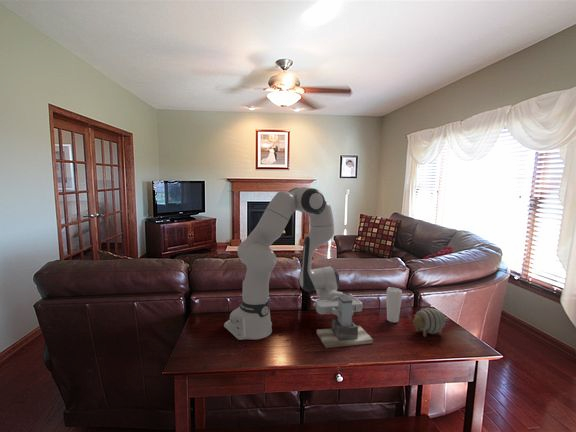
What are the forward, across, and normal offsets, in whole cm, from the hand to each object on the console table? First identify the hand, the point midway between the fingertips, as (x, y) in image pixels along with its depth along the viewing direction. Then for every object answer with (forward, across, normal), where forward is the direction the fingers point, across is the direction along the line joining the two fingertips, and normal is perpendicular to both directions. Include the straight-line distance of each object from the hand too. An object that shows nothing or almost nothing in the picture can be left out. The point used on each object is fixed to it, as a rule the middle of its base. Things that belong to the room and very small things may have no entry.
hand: (345, 314), depth 121 cm
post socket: (-1, 0, +11) cm, 11 cm away
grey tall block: (-1, 0, +8) cm, 8 cm away
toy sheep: (+2, +38, +11) cm, 40 cm away
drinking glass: (-12, +29, +11) cm, 33 cm away
